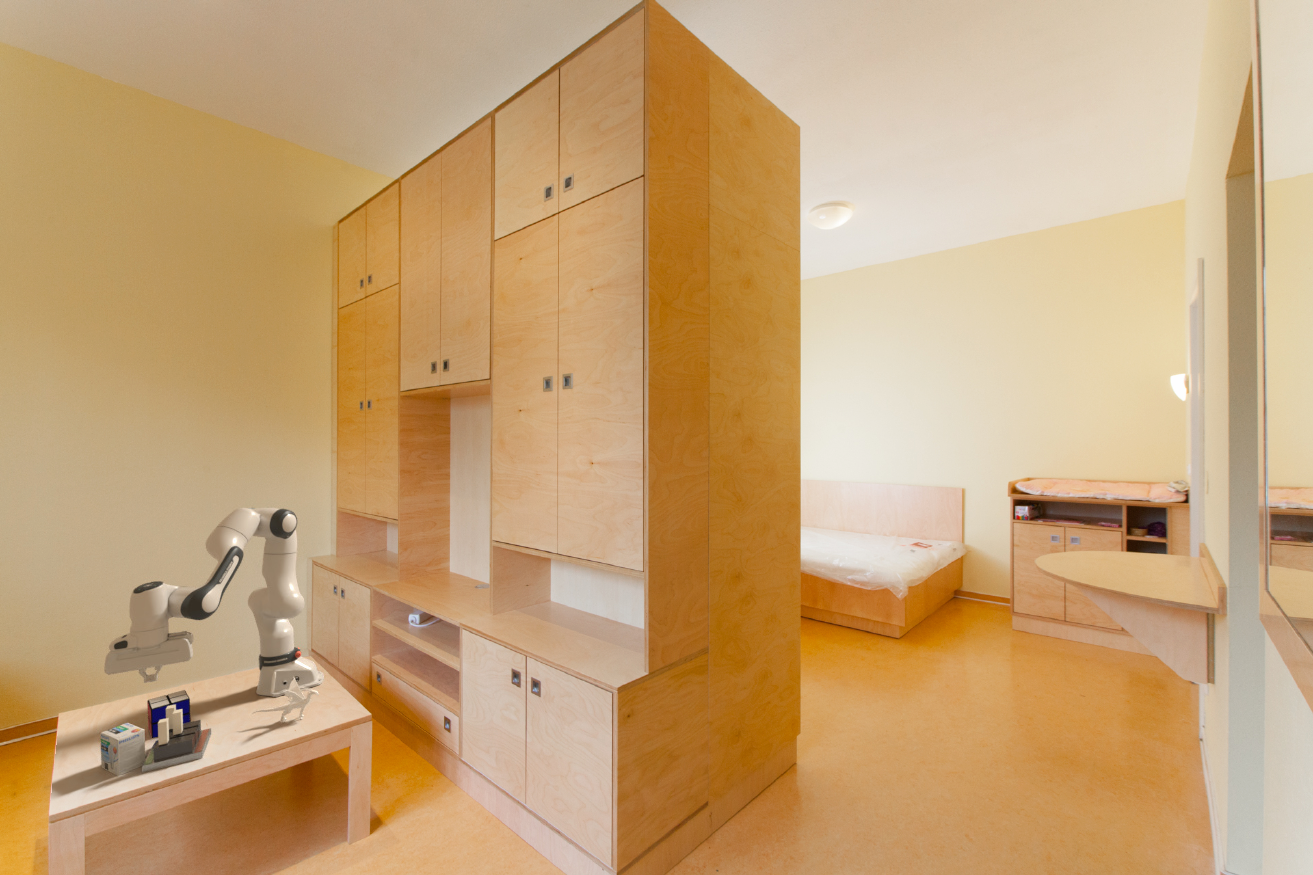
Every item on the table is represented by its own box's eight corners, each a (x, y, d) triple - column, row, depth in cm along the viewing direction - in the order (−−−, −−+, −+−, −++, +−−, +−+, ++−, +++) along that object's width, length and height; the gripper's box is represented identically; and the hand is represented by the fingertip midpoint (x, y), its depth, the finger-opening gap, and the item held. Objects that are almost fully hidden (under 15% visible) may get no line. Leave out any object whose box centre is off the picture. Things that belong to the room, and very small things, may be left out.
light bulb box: (100, 767, 169) (99, 732, 169) (128, 755, 175) (127, 721, 175) (118, 776, 165) (117, 740, 164) (146, 764, 171) (145, 728, 171)
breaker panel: (211, 733, 187) (210, 716, 187) (202, 757, 173) (201, 738, 173) (155, 746, 180) (155, 728, 180) (142, 772, 166) (141, 752, 166)
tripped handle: (183, 729, 178) (182, 708, 178) (181, 733, 176) (180, 711, 176) (174, 731, 177) (174, 710, 177) (173, 735, 175) (172, 713, 175)
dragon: (316, 722, 194) (314, 685, 193) (246, 734, 186) (245, 696, 186) (322, 707, 204) (321, 672, 204) (256, 718, 197) (255, 681, 197)
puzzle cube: (151, 739, 185) (150, 709, 184) (147, 728, 191) (146, 699, 191) (191, 727, 192) (190, 697, 192) (185, 717, 199) (185, 689, 199)
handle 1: (169, 739, 173) (168, 717, 172) (167, 743, 171) (166, 721, 170) (160, 741, 172) (159, 719, 171) (158, 745, 170) (157, 723, 169)
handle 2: (176, 724, 181) (175, 704, 181) (174, 728, 179) (174, 707, 179) (168, 726, 180) (167, 705, 180) (166, 730, 178) (165, 709, 178)
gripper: (195, 626, 181) (196, 669, 181) (108, 639, 171) (109, 685, 171) (191, 632, 176) (192, 676, 176) (101, 646, 165) (103, 693, 165)
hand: (150, 681), depth 173 cm, fingers closed
